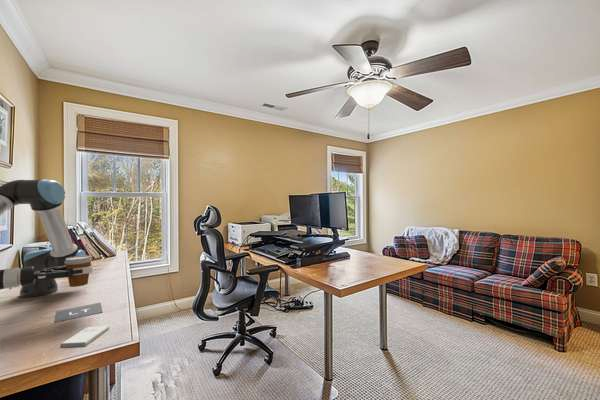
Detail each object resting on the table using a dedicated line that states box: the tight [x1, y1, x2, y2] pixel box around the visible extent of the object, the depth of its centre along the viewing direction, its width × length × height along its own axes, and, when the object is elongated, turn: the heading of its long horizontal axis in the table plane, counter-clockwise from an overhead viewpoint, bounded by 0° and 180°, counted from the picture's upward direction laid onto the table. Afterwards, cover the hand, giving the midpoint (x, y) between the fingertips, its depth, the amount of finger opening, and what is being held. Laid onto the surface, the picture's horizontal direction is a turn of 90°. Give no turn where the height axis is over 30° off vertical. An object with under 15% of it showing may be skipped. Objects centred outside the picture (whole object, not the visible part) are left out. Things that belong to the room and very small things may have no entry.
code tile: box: [53, 302, 103, 324], centre depth 121 cm, size 15×16×1 cm
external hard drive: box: [59, 325, 110, 348], centre depth 98 cm, size 2×8×12 cm
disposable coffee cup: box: [64, 255, 92, 288], centre depth 120 cm, size 10×10×12 cm
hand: (92, 267), depth 123 cm, fingers closed on disposable coffee cup, 8 cm apart
